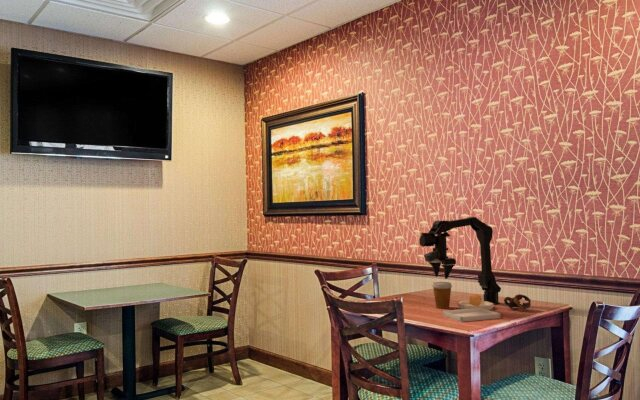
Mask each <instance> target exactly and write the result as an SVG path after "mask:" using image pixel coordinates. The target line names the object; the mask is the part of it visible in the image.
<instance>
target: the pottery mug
mask: <svg viewBox="0 0 640 400" xmlns="http://www.w3.org/2000/svg"><path fill="white" fill-rule="evenodd" d="M522 299H524V301H527V302H522V303H521V301H520V300H522ZM531 300H532V299H530V298H529V296H527V295H523V294H515V295H514V296H513V297H510V296H506V297H504V298H503V302H504V304H505V305H506V306H507V307H508V308H509V309H513V308H518V309H517V311H519V312H522V311H523V310H526V309H529V308H531V306H532V305H531Z"/></svg>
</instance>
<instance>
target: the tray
mask: <svg viewBox="0 0 640 400" xmlns="http://www.w3.org/2000/svg"><path fill="white" fill-rule="evenodd" d="M501 315H502V314H501V313H499V312H496V311H493V310H486V309H483V308H473V309H453V310H452V309H451V310H443V311H442V316H444V317H446V318H449V319H452V320H455V321H457V322H460V323H461V322H473V321H474V322H475V321H484V320H493V319H494V320H495V319H501V318H502V317H501Z"/></svg>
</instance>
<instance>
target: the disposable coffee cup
mask: <svg viewBox="0 0 640 400" xmlns="http://www.w3.org/2000/svg"><path fill="white" fill-rule="evenodd" d="M452 287H453V285H452V283H451V282H448V281H436V282H433V283H432V289H433V296H434V302H435V308H437V309H449V308H450V305H451V304H450V302H451V291H452Z"/></svg>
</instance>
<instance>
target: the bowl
mask: <svg viewBox="0 0 640 400" xmlns="http://www.w3.org/2000/svg"><path fill="white" fill-rule="evenodd" d="M456 305H457V307H458V308H459V310H461V309H473V308H483V309H486V310H490V311H492V310H493V309H494V308H493V307H494V306H495V304H494V303H491V302H487V301H484V300H482V302H481V304H480V305H479V306H473V305H471V304H470V302H469V300H461V301H458V302H457V304H456Z"/></svg>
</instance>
